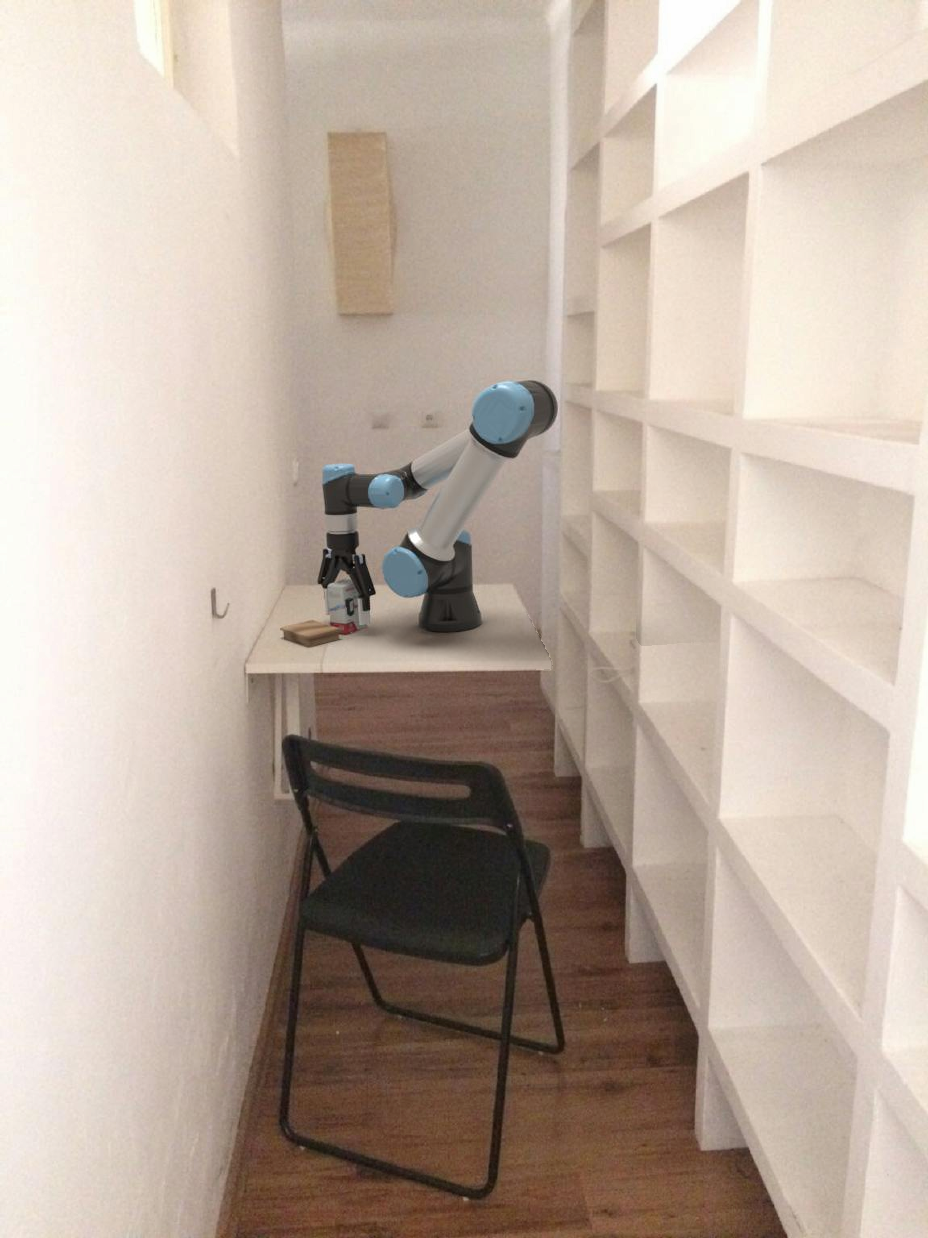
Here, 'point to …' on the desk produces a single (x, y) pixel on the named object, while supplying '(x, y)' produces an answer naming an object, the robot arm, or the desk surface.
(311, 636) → the walnut stand
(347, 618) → the ink box
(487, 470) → the robot arm
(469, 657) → the desk surface
